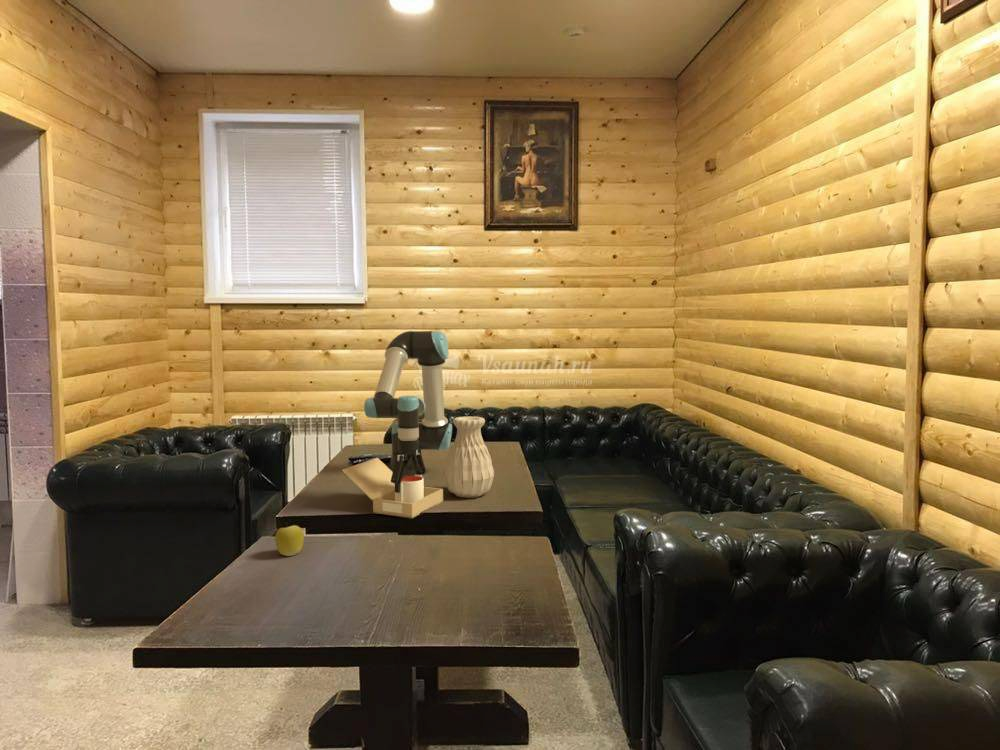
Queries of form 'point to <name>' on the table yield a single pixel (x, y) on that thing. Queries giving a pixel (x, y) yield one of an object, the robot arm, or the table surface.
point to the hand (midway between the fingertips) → (409, 496)
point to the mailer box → (408, 510)
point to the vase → (468, 460)
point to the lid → (371, 477)
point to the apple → (289, 540)
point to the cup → (412, 488)
